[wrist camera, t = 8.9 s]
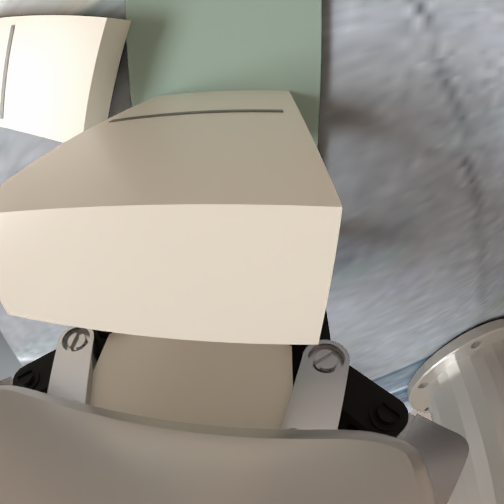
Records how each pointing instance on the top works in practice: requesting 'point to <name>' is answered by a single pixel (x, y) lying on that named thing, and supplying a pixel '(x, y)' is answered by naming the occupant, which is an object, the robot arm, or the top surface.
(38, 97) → the domino
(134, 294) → the domino
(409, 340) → the top surface
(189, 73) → the felt mat
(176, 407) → the domino tile
